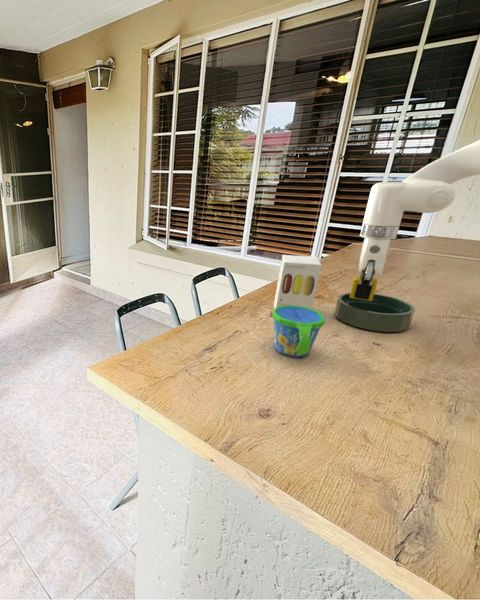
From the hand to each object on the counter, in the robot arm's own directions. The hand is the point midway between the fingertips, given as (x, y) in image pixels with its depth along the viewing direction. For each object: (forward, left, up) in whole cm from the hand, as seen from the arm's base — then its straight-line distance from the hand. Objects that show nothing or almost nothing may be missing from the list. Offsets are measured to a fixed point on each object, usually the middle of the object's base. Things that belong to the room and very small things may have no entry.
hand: (361, 295), depth 98 cm
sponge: (0, 0, -1) cm, 1 cm away
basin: (-3, 0, -7) cm, 8 cm away
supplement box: (+16, +4, -7) cm, 18 cm away
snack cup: (+12, +30, -7) cm, 33 cm away
